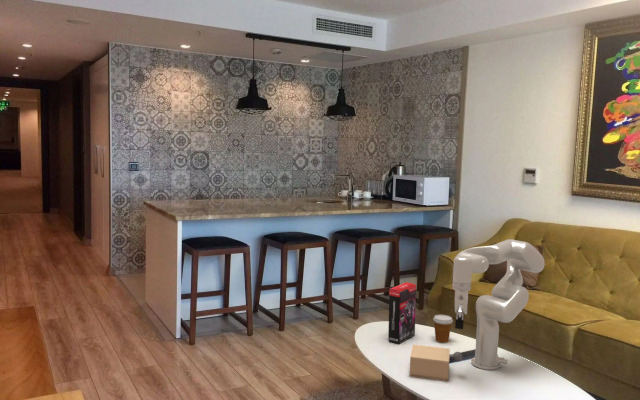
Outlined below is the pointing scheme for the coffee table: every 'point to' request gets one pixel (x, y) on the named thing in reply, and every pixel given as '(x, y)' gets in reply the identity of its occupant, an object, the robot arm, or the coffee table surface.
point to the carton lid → (434, 354)
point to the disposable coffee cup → (442, 327)
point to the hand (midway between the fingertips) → (459, 324)
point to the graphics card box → (402, 312)
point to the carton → (429, 369)
